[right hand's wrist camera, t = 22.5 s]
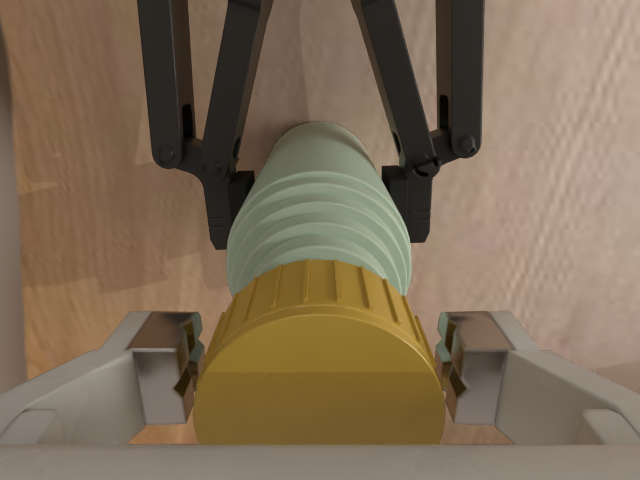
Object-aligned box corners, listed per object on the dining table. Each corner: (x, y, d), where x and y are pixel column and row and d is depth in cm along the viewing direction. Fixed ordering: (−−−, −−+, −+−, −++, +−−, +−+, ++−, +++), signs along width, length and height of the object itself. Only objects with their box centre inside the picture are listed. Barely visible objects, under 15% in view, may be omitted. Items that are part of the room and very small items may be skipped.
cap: (377, 221, 9) (396, 269, 7) (449, 391, 11) (481, 472, 9) (178, 304, 10) (139, 369, 8) (272, 452, 11) (261, 541, 9)
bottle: (246, 184, 26) (104, 425, 9) (307, 98, 25) (280, 187, 7) (328, 242, 28) (345, 549, 10) (391, 164, 26) (543, 373, 8)
